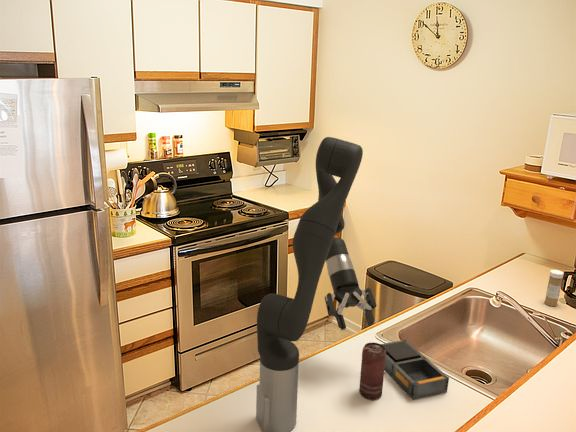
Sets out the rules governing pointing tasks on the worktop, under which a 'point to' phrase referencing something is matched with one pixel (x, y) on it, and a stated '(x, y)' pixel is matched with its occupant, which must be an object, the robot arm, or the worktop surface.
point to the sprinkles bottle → (554, 287)
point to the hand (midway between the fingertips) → (357, 326)
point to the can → (372, 371)
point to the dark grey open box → (413, 371)
